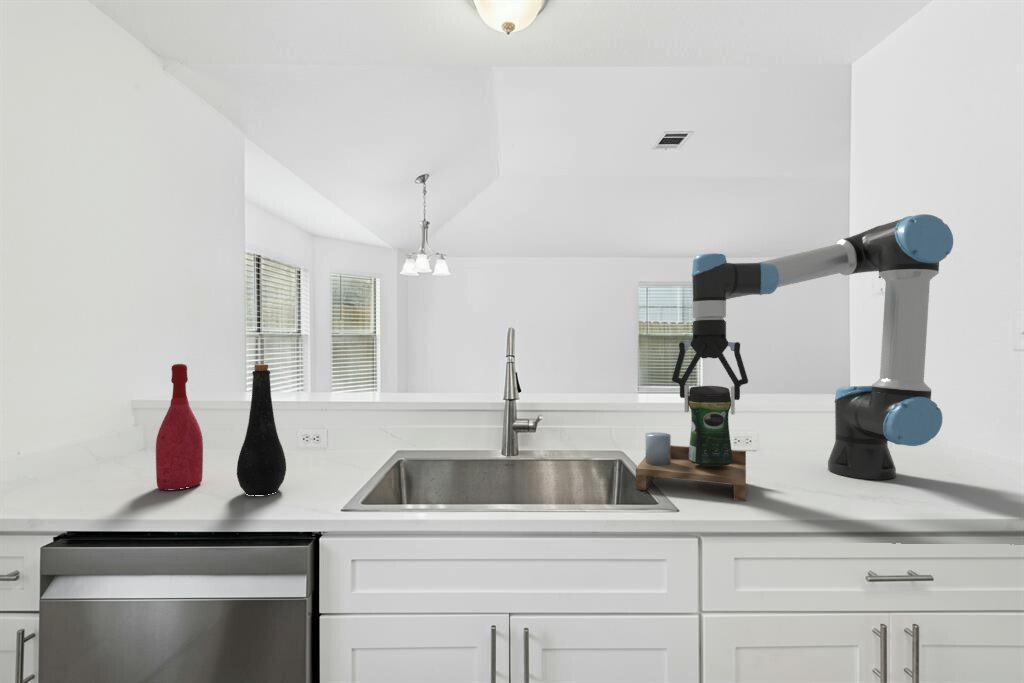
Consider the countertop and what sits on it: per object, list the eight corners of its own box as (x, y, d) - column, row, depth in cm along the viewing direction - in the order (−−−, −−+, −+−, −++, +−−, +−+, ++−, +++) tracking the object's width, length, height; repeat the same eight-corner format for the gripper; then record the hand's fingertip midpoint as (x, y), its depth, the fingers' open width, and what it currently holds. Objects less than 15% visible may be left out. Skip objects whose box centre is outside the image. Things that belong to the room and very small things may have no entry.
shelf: (745, 483, 133) (745, 450, 133) (745, 501, 118) (745, 464, 118) (647, 473, 143) (647, 443, 143) (635, 489, 128) (635, 455, 128)
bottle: (296, 488, 129) (295, 363, 129) (262, 501, 119) (261, 366, 119) (261, 484, 133) (260, 363, 133) (225, 496, 123) (225, 365, 123)
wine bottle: (212, 483, 134) (211, 363, 134) (172, 493, 125) (172, 365, 125) (186, 479, 138) (185, 362, 138) (146, 489, 129) (146, 364, 129)
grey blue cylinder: (672, 461, 135) (672, 433, 135) (668, 466, 130) (668, 437, 130) (647, 459, 138) (647, 431, 138) (643, 464, 132) (643, 435, 132)
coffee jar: (725, 459, 132) (725, 384, 132) (736, 467, 125) (736, 387, 124) (685, 459, 133) (684, 384, 133) (693, 466, 125) (693, 387, 125)
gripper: (760, 319, 128) (760, 413, 128) (663, 320, 137) (663, 408, 137) (760, 317, 121) (761, 417, 121) (658, 319, 130) (659, 412, 130)
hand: (709, 412), depth 129 cm, fingers closed on coffee jar, 10 cm apart
